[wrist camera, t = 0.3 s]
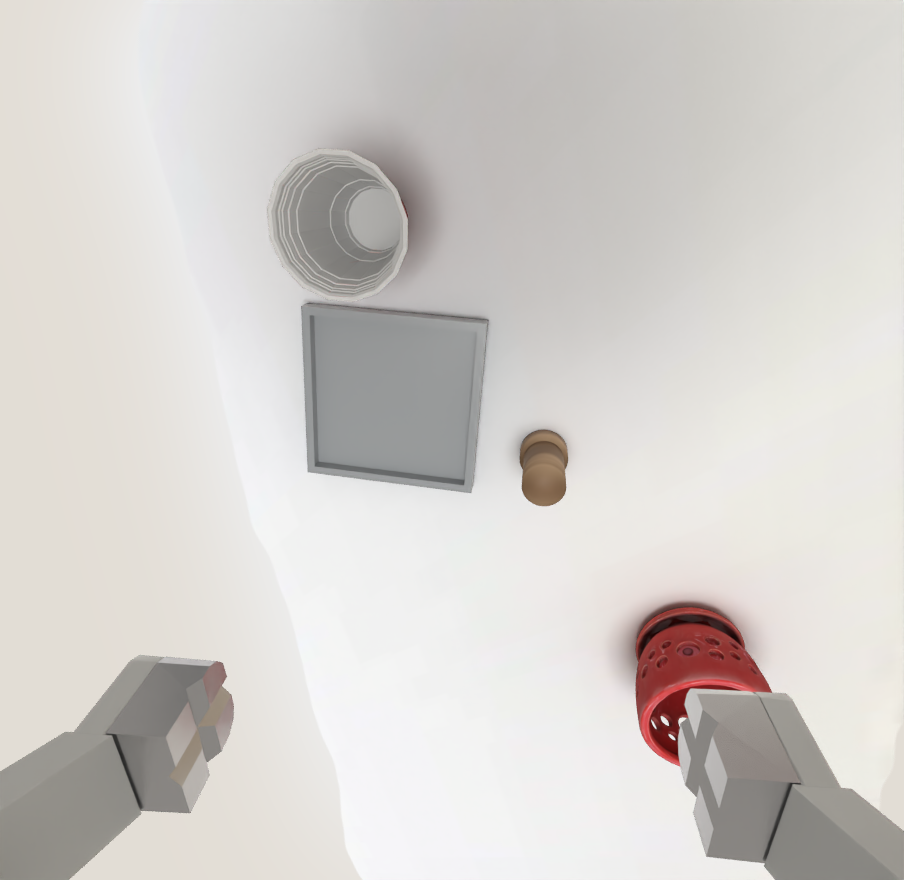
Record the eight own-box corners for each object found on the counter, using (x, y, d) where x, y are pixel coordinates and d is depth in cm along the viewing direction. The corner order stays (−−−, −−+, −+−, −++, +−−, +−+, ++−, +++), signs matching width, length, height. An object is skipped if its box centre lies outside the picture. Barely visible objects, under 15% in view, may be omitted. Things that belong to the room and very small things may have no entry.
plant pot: (631, 591, 65) (649, 672, 54) (754, 601, 63) (799, 687, 52) (619, 679, 70) (633, 768, 59) (732, 690, 68) (769, 785, 57)
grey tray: (308, 302, 57) (301, 306, 55) (488, 320, 55) (486, 324, 53) (313, 465, 64) (307, 472, 63) (473, 485, 62) (471, 493, 61)
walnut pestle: (523, 427, 59) (520, 460, 52) (570, 432, 58) (574, 466, 51) (517, 468, 61) (514, 506, 53) (563, 474, 60) (566, 513, 53)
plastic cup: (335, 288, 56) (284, 311, 45) (309, 167, 52) (248, 160, 41) (443, 275, 54) (418, 295, 43) (426, 148, 50) (393, 135, 39)
